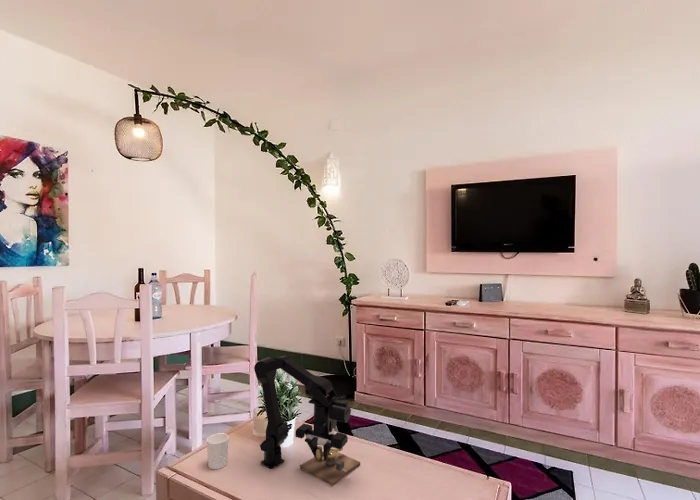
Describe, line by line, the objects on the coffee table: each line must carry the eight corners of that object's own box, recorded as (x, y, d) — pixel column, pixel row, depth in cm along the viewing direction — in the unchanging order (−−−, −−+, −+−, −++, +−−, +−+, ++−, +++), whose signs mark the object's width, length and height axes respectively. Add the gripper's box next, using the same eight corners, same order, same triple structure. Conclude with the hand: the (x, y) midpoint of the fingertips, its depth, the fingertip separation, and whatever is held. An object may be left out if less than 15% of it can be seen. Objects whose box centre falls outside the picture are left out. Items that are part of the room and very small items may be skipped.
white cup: (211, 473, 137) (211, 445, 137) (203, 463, 143) (203, 437, 143) (232, 465, 142) (232, 438, 142) (223, 456, 148) (223, 431, 148)
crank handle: (312, 463, 137) (312, 447, 137) (336, 447, 148) (336, 432, 148) (321, 467, 134) (321, 451, 134) (345, 450, 145) (345, 435, 145)
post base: (300, 468, 140) (300, 458, 140) (328, 450, 153) (329, 441, 153) (332, 485, 130) (332, 474, 130) (360, 465, 143) (360, 455, 143)
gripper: (354, 412, 139) (353, 454, 140) (310, 402, 147) (309, 441, 147) (341, 425, 129) (340, 470, 130) (295, 414, 137) (294, 456, 137)
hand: (320, 458), depth 136 cm, fingers open, 3 cm apart
